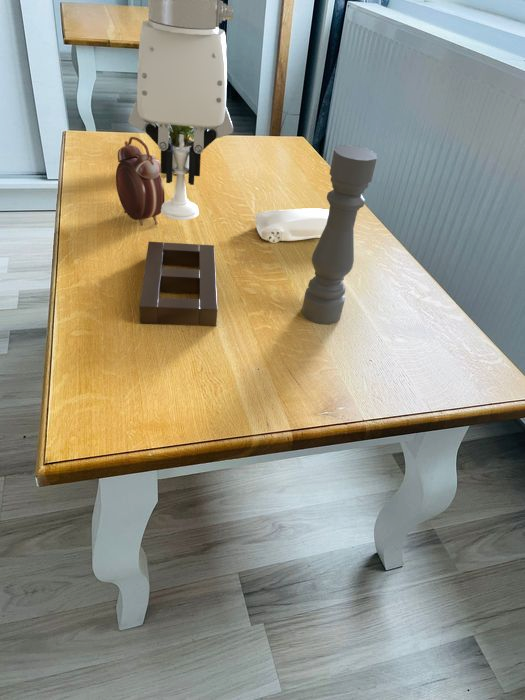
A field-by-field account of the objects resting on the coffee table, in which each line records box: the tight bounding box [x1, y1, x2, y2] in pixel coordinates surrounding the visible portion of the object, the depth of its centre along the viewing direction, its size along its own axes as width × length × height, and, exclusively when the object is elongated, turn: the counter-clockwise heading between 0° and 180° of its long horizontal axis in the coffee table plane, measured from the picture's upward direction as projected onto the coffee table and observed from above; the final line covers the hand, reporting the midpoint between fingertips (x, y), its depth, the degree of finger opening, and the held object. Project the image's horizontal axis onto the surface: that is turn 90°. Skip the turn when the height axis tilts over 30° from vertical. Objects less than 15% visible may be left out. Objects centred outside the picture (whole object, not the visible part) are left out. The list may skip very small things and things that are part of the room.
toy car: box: [254, 207, 329, 244], centre depth 106 cm, size 18×8×4 cm, turn 102°
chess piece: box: [160, 134, 199, 221], centre depth 70 cm, size 5×5×10 cm
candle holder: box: [301, 144, 378, 325], centre depth 79 cm, size 6×6×25 cm
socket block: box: [138, 241, 218, 327], centre depth 86 cm, size 11×19×3 cm, turn 5°
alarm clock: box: [115, 136, 166, 227], centre depth 100 cm, size 11×5×15 cm, turn 40°
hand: (180, 178), depth 70 cm, fingers closed on chess piece
